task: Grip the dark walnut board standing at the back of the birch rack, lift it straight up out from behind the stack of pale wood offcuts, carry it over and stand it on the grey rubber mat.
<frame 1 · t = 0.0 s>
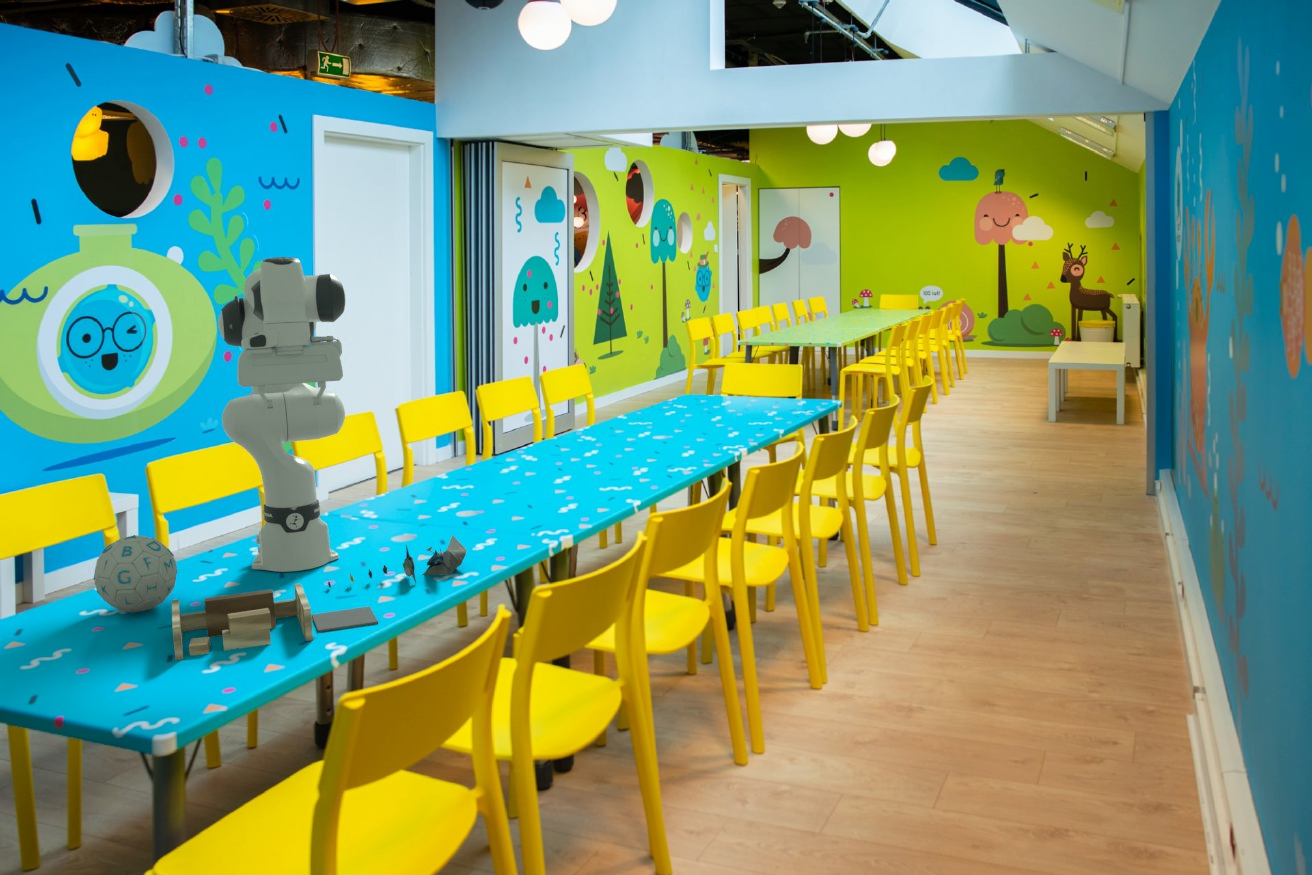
hand: (293, 406, 231), 39 cm above the table, tool pointing down, fingers open, 8 cm apart
offcut b: (250, 629, 207), point 3 cm above the table, touching offcut a
puzzle ball: (139, 610, 229), on the table
rack: (242, 635, 212), on the table
offcut c: (200, 651, 205), on the table
walnut board: (242, 631, 215), on the table
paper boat: (446, 570, 252), on the table, touching toy fish set
mat: (344, 619, 220), on the table
offcut a: (247, 645, 208), on the table, touching offcut b
toy fish set: (392, 584, 242), on the table, touching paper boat
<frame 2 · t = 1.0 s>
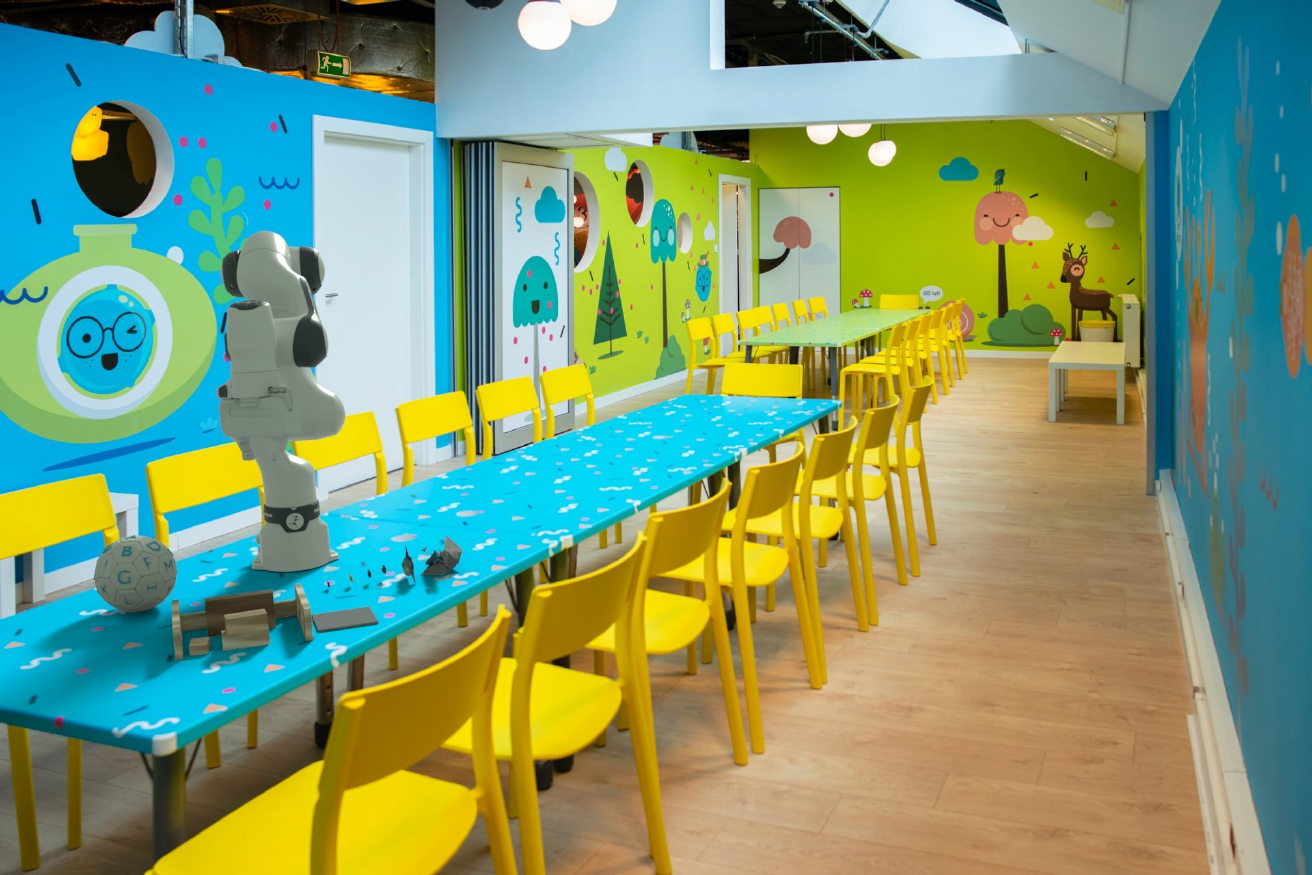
hand: (263, 460, 216), 31 cm above the table, tool pointing down, fingers open, 8 cm apart
offcut b: (246, 629, 207), point 3 cm above the table
offcut a: (246, 645, 208), on the table
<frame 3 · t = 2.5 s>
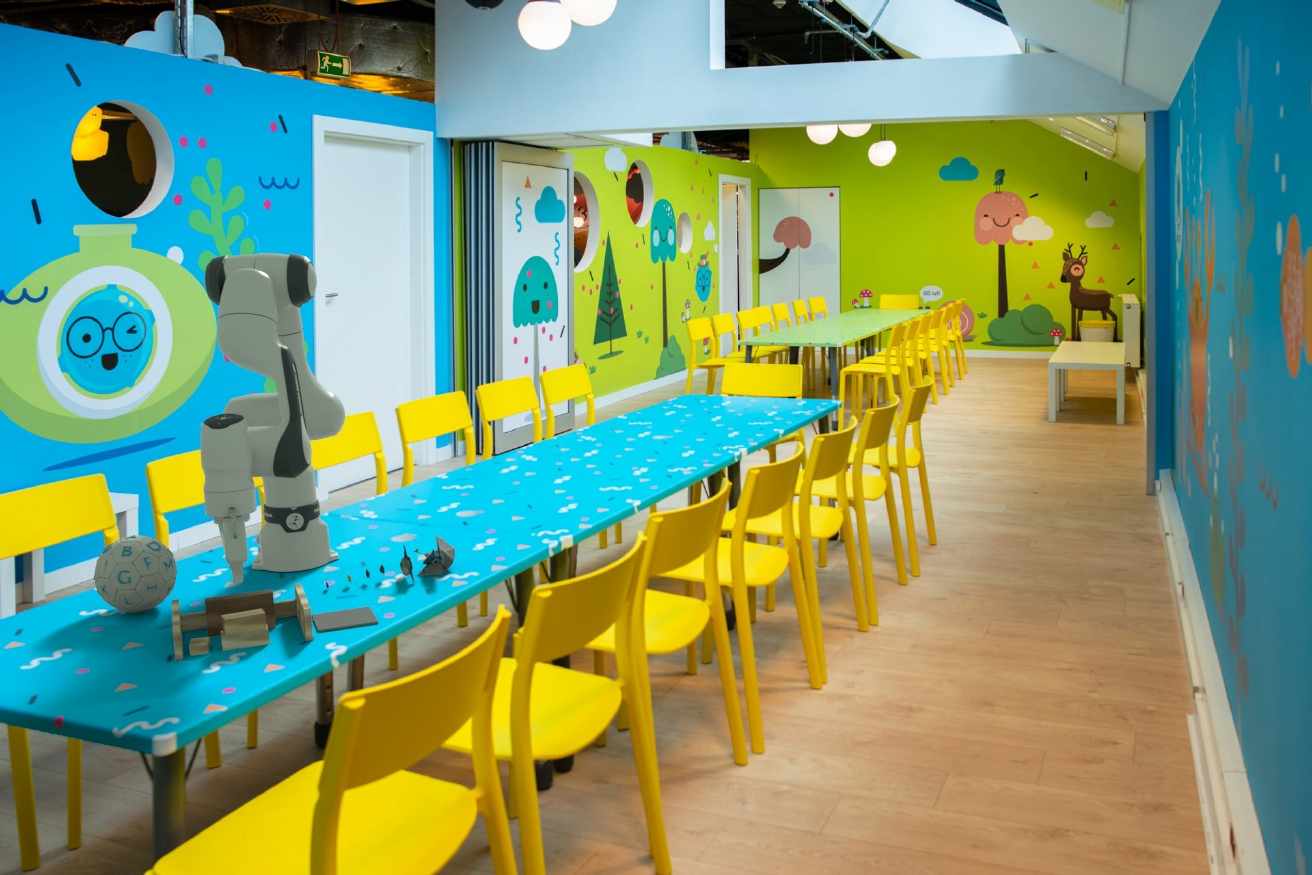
hand: (236, 576, 213), 11 cm above the table, tool pointing down, fingers open, 8 cm apart
offcut b: (244, 629, 207), point 3 cm above the table, touching offcut a
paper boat: (435, 569, 253), on the table, touching toy fish set
offcut a: (245, 645, 208), on the table, touching offcut b
everything else where it was.
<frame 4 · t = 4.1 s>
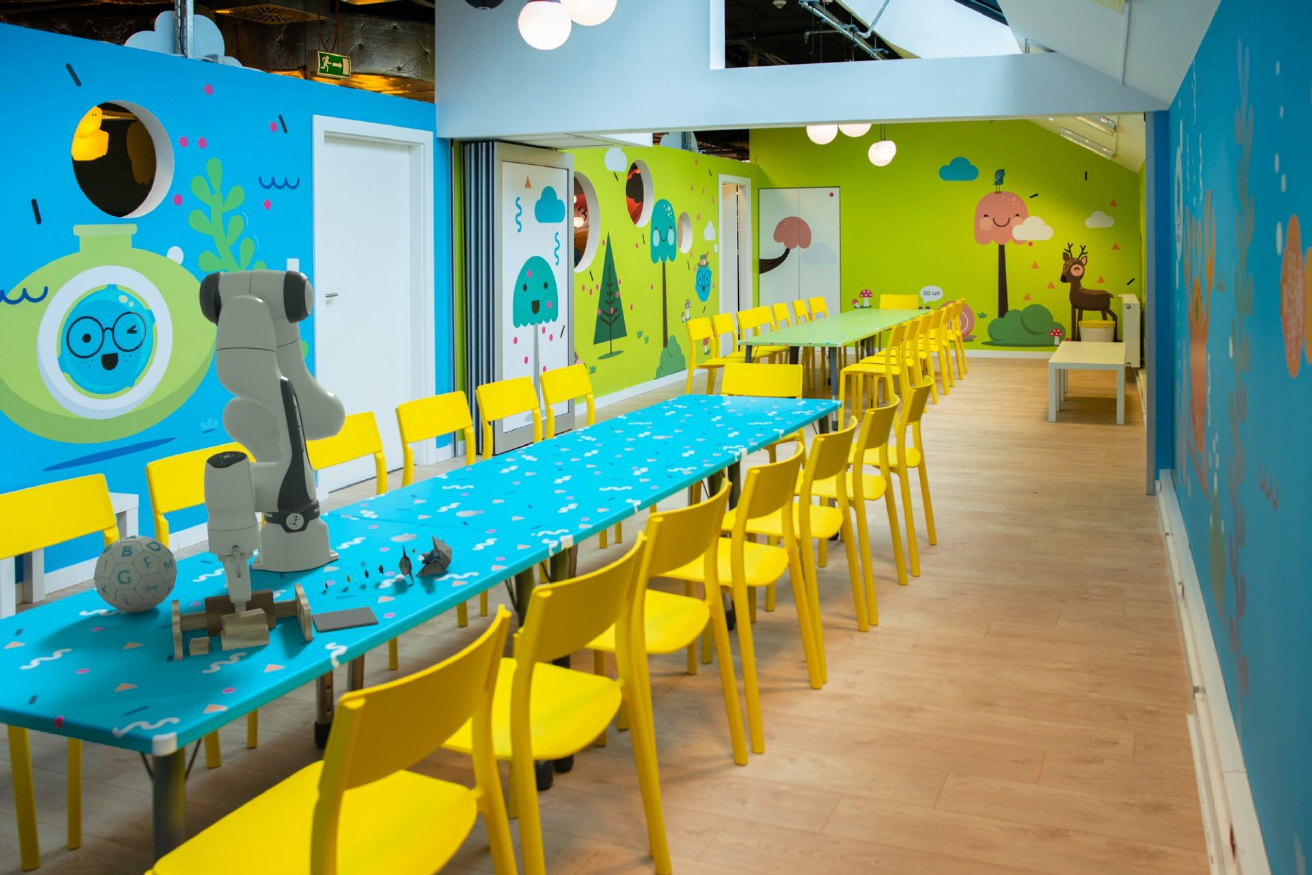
hand: (240, 611, 214), 4 cm above the table, tool pointing down, fingers closed on walnut board, 2 cm apart
walnut board: (241, 630, 215), on the table, touching gripper
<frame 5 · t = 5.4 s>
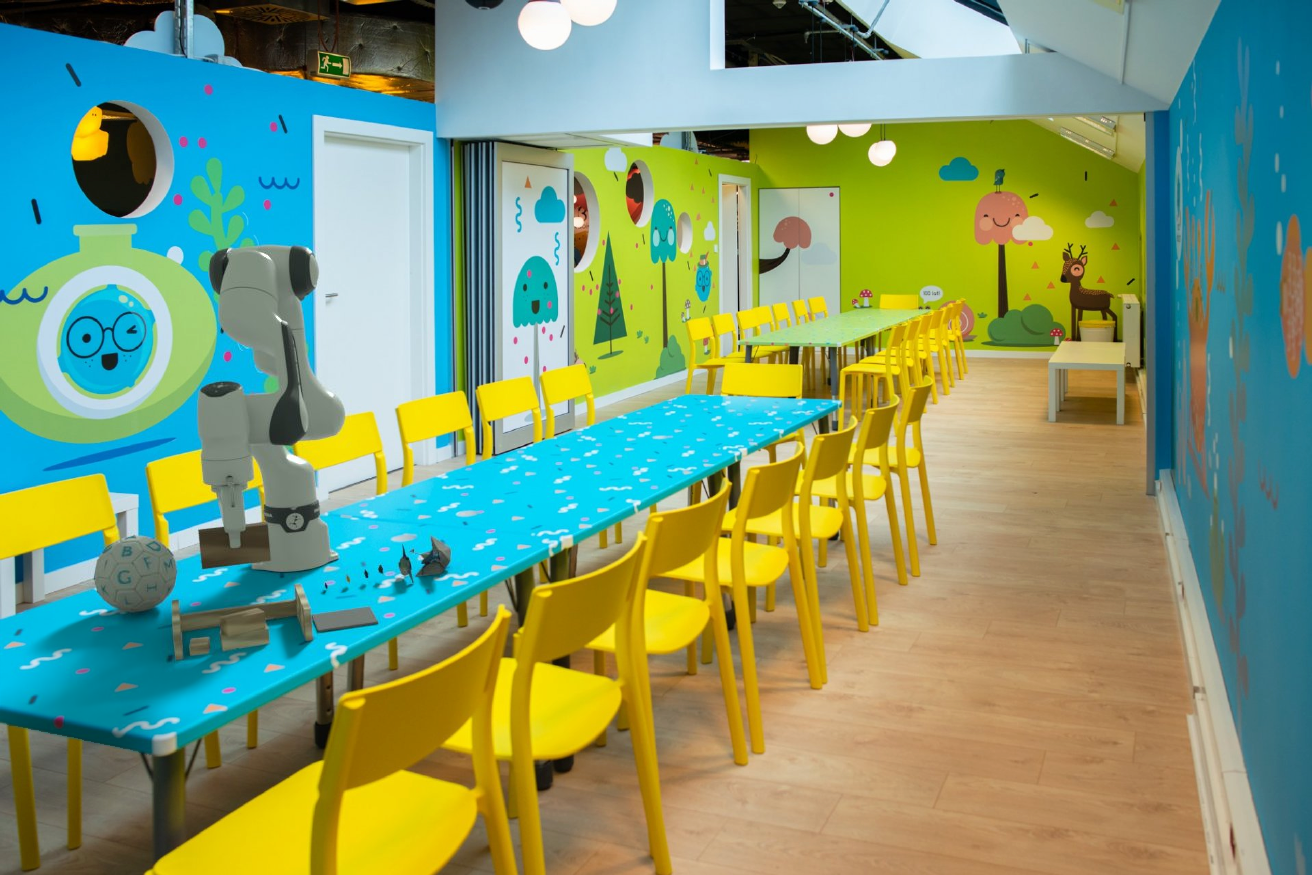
hand: (234, 544, 212), 17 cm above the table, tool pointing down, fingers closed on walnut board, 2 cm apart
walnut board: (236, 563, 213), point 13 cm above the table, touching gripper
everything else where it was.
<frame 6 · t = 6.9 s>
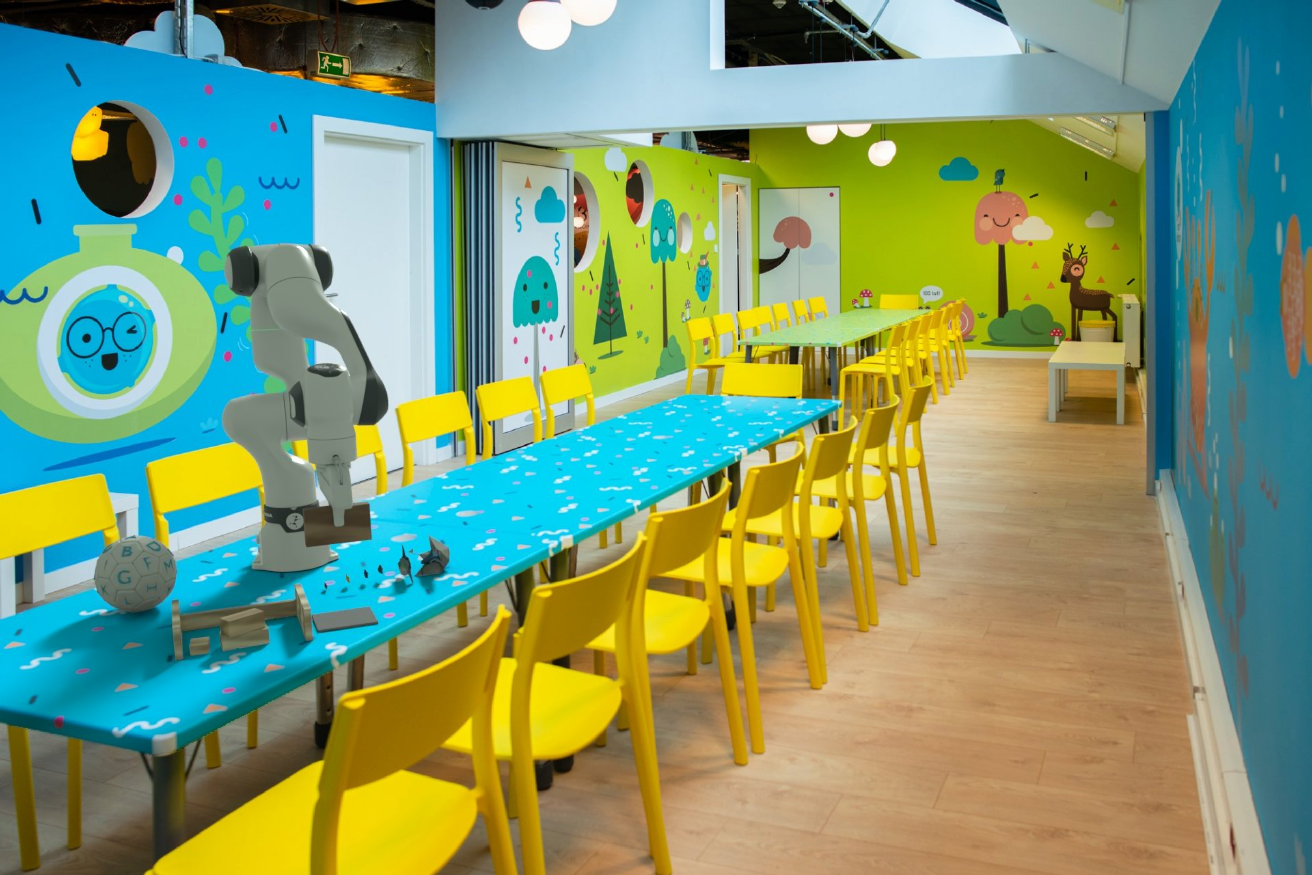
hand: (337, 523, 216), 19 cm above the table, tool pointing down, fingers closed on walnut board, 2 cm apart
walnut board: (338, 542, 217), point 15 cm above the table, touching gripper
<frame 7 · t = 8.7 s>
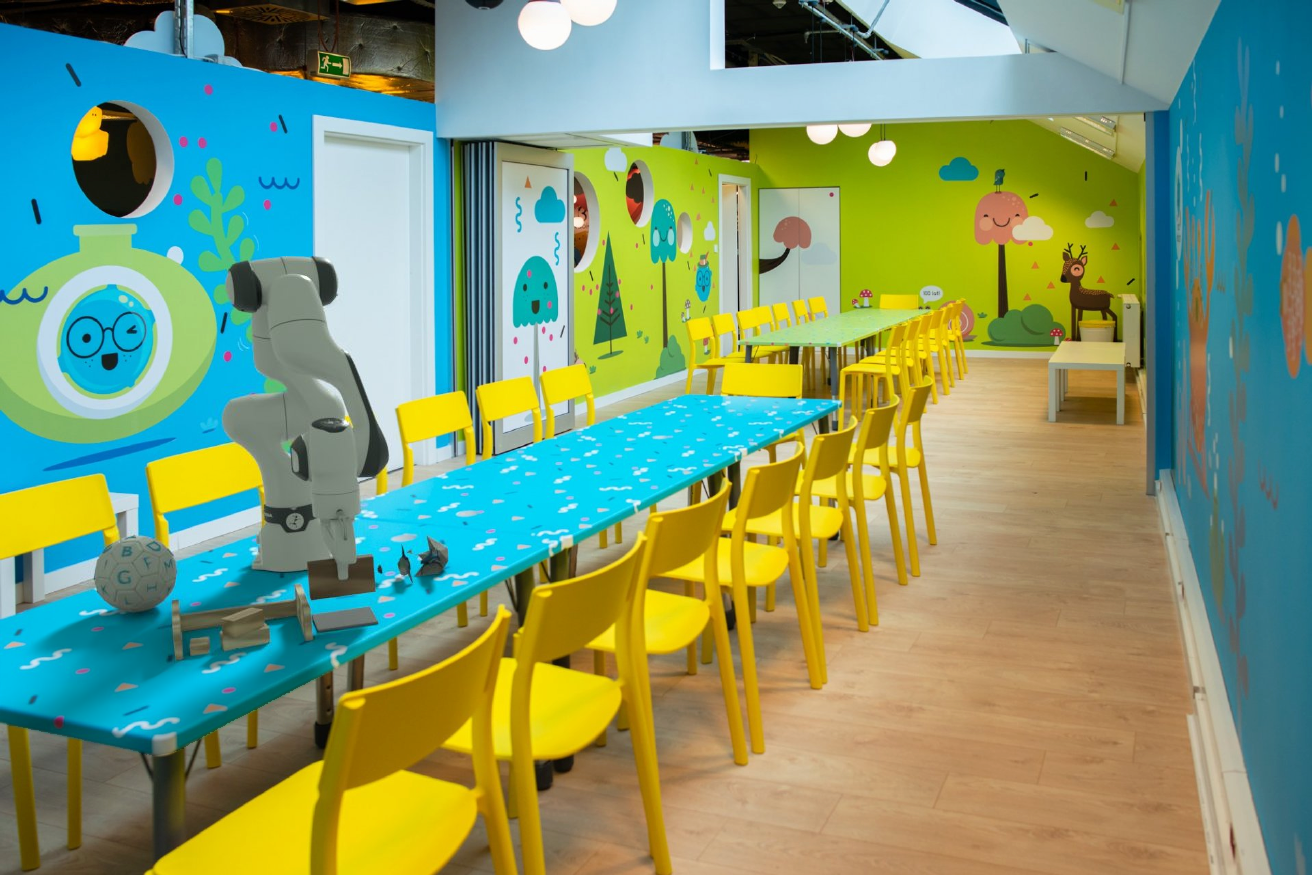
hand: (341, 576, 218), 9 cm above the table, tool pointing down, fingers closed on walnut board, 2 cm apart
walnut board: (342, 594, 219), point 5 cm above the table, touching gripper
when the fingers open (5 cm above the table, at t = 9.7 s): walnut board stays where it is, resting on mat.
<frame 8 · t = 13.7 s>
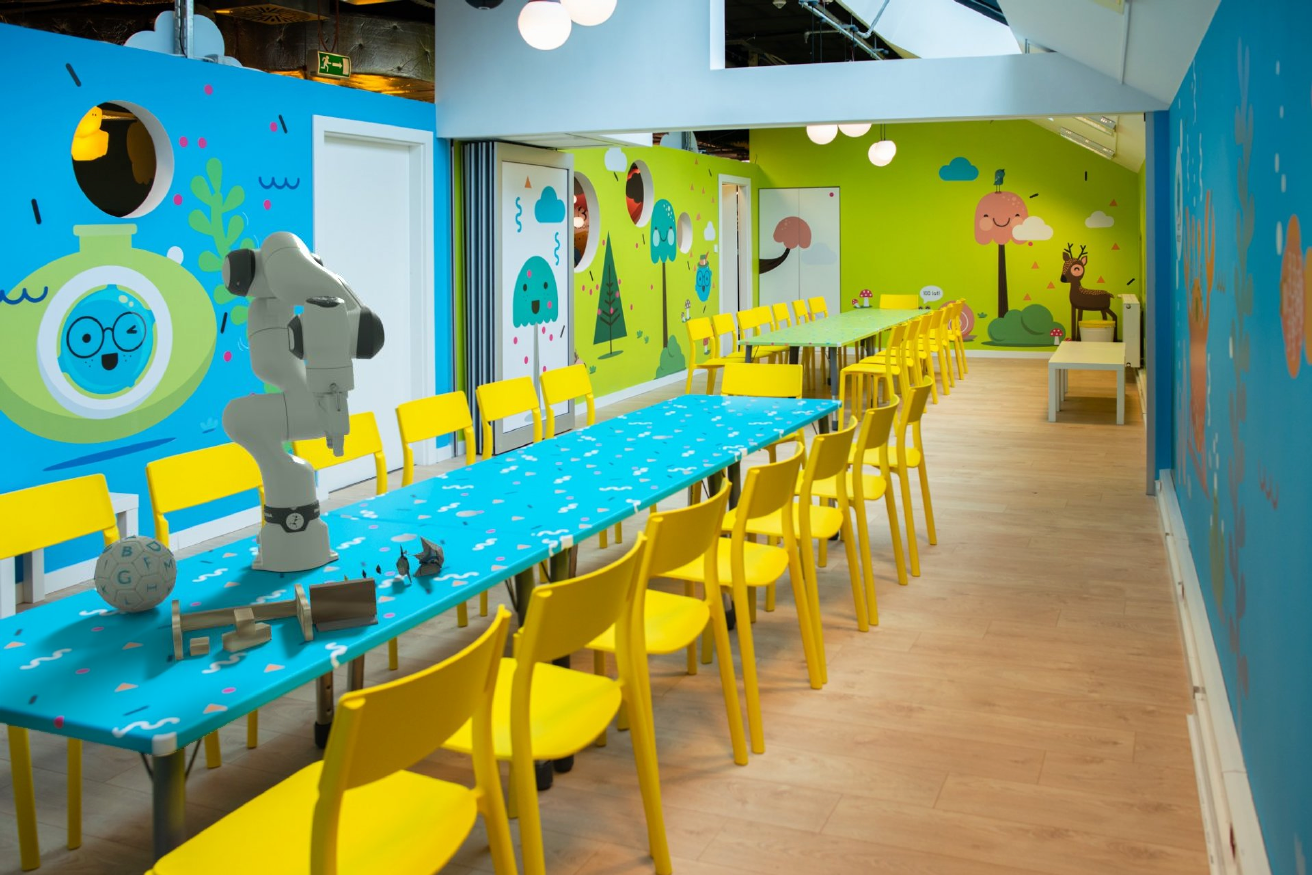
hand: (335, 452, 223), 31 cm above the table, tool pointing down, fingers open, 8 cm apart
walnut board: (344, 617, 220), resting on mat
at the end: walnut board inside the target area on the mat (0.1 cm from its centre), point 0.4 cm above the mat's base; walnut board tilted 0°; the gripper is holding nothing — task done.
